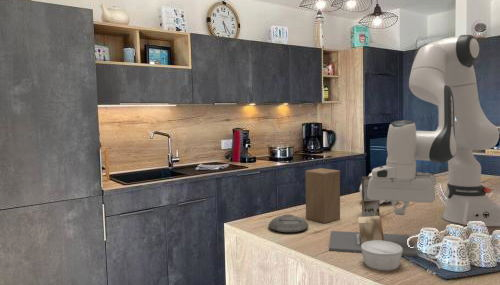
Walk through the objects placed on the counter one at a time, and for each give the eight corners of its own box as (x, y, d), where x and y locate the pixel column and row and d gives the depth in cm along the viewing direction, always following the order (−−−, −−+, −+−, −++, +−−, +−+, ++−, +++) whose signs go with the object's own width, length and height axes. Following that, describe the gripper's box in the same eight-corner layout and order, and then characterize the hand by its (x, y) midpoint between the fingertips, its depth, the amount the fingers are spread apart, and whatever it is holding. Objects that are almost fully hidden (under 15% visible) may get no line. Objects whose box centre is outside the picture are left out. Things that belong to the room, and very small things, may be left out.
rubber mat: (408, 237, 131) (408, 233, 131) (418, 256, 114) (418, 252, 114) (331, 233, 137) (331, 229, 137) (329, 250, 120) (329, 246, 120)
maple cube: (379, 215, 128) (358, 217, 129) (381, 221, 121) (358, 223, 123) (382, 236, 128) (360, 237, 130) (384, 243, 121) (361, 244, 123)
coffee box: (380, 219, 154) (380, 179, 153) (363, 218, 155) (363, 179, 154) (377, 213, 163) (377, 175, 162) (361, 212, 164) (361, 175, 163)
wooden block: (321, 214, 163) (321, 167, 161) (340, 219, 155) (340, 170, 154) (305, 218, 157) (304, 170, 155) (324, 223, 149) (324, 173, 147)
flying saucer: (316, 230, 142) (316, 215, 142) (284, 238, 134) (284, 222, 134) (291, 221, 155) (291, 207, 154) (260, 227, 147) (260, 213, 146)
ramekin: (362, 271, 104) (362, 252, 104) (359, 256, 115) (359, 239, 115) (406, 274, 102) (406, 254, 102) (398, 258, 113) (398, 240, 113)
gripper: (434, 171, 122) (432, 214, 123) (367, 169, 127) (366, 210, 128) (438, 174, 116) (437, 219, 117) (368, 171, 121) (367, 214, 122)
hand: (399, 214), depth 122 cm, fingers closed
